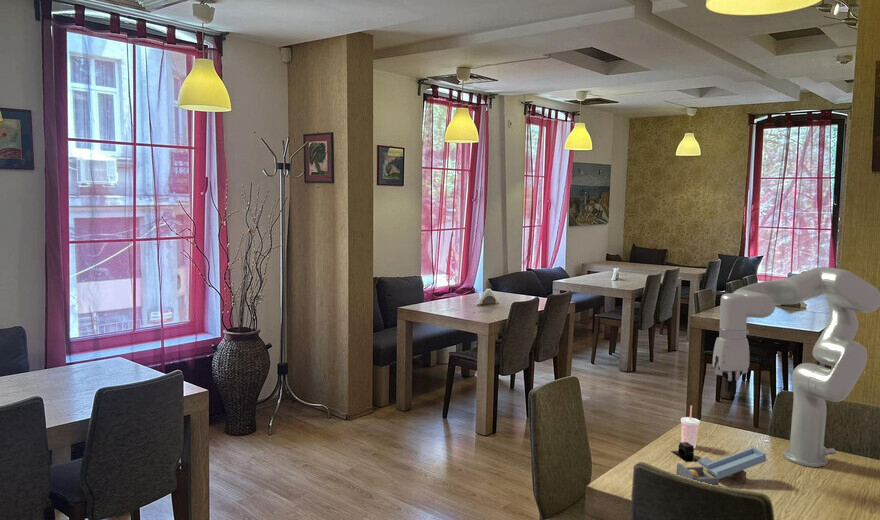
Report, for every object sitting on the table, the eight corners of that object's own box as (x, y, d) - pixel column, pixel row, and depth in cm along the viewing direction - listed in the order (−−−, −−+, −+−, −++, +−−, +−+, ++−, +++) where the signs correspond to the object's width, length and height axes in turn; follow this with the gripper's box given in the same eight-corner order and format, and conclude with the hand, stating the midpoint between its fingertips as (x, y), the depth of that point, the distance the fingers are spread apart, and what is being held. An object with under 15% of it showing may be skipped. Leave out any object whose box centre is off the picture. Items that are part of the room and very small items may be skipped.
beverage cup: (677, 441, 232) (680, 402, 230) (695, 443, 231) (698, 403, 229) (681, 448, 226) (683, 407, 224) (700, 449, 225) (703, 409, 223)
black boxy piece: (706, 464, 213) (707, 450, 213) (685, 466, 212) (686, 452, 211) (684, 449, 226) (685, 436, 225) (664, 451, 224) (665, 437, 224)
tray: (701, 474, 204) (702, 462, 204) (718, 486, 196) (719, 473, 195) (676, 476, 202) (677, 463, 202) (692, 488, 194) (693, 474, 194)
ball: (696, 471, 200) (688, 465, 200) (702, 475, 197) (694, 470, 197) (690, 480, 200) (682, 474, 200) (696, 484, 197) (688, 479, 197)
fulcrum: (737, 473, 206) (737, 462, 205) (752, 483, 199) (753, 471, 198) (719, 474, 204) (720, 463, 204) (734, 484, 197) (735, 472, 197)
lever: (742, 447, 211) (740, 439, 210) (766, 461, 200) (765, 453, 199) (697, 463, 208) (695, 455, 208) (719, 478, 197) (717, 470, 197)
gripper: (746, 330, 211) (744, 387, 213) (703, 332, 208) (701, 390, 210) (762, 335, 204) (759, 394, 206) (718, 338, 201) (716, 397, 203)
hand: (730, 392), depth 208 cm, fingers closed
